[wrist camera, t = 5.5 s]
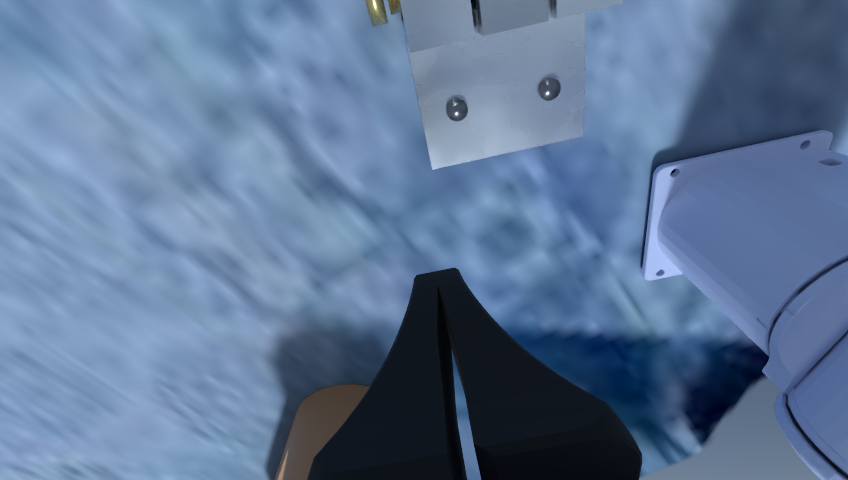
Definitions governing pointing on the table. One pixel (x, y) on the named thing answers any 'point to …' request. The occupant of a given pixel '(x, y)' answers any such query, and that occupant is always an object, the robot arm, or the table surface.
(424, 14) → the hinge
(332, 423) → the bracket
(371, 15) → the pin
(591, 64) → the table surface
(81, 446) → the table surface
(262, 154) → the table surface
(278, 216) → the table surface
